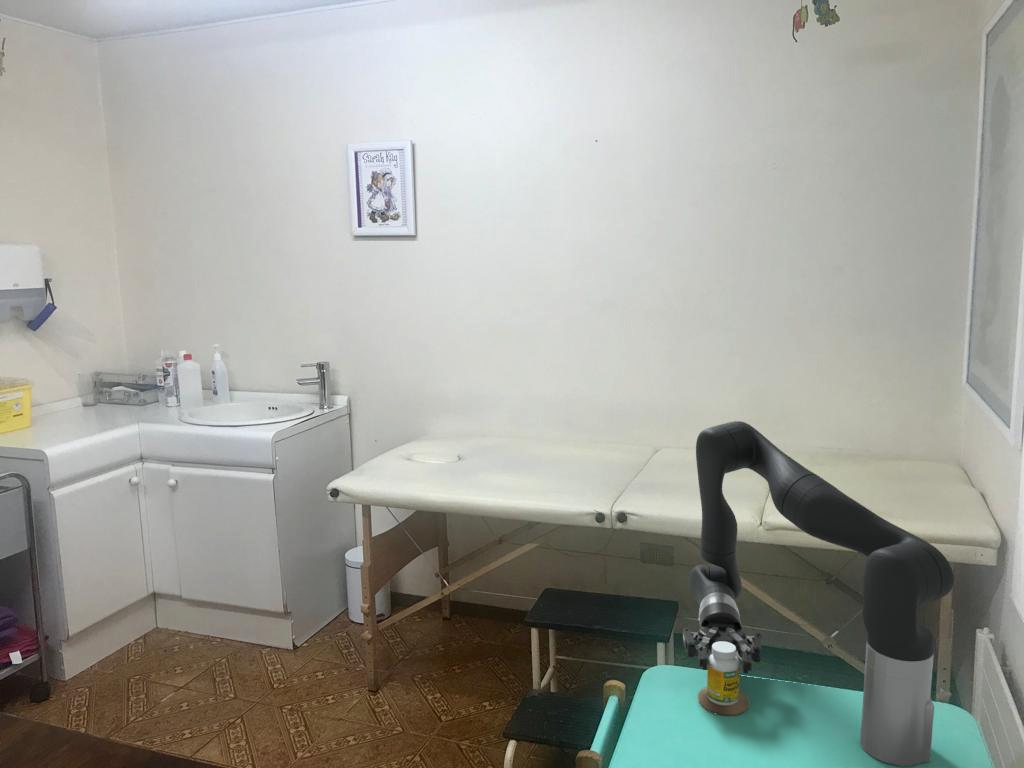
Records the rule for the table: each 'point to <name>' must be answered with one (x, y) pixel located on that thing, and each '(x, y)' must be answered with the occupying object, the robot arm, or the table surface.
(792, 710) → the table surface
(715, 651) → the supplement bottle
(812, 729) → the table surface
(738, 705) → the walnut coaster
